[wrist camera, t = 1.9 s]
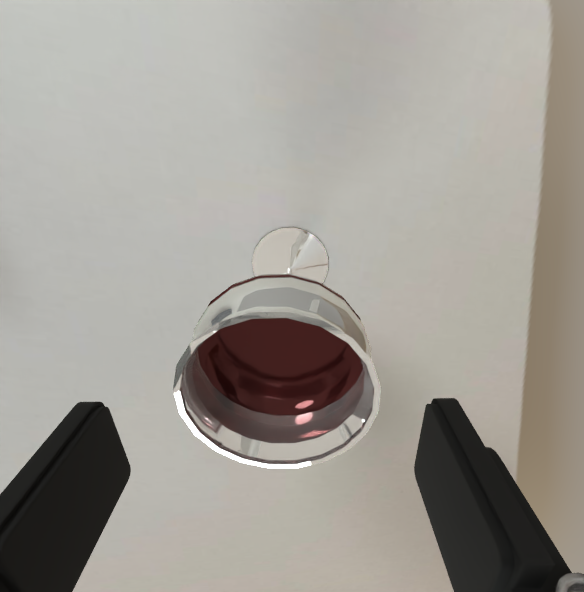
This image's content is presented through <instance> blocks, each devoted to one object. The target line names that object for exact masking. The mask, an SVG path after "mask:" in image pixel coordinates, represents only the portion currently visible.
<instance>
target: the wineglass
mask: <svg viewBox="0 0 584 592" xmlns="http://www.w3.org/2000/svg"><path fill="white" fill-rule="evenodd" d="M252 266H253V273H254V275H255V277H252V278H250V279H247V280H244V281H241V282H238V283H235V284H233V285H232V286H230V287H229V288H228V289H226V290H225V291H224V292H222V293H221V294H220V295H219V296H217V297H216V298H215V299H213V300H212V301H211V302H210V304H209V305H208V307H207V309H206V310H205V312H204V313H203V315H202V317H201V318H200V320H199V322H198V324H197V325H196V327H195V328H194V333H193V339H192V341H191V343H190V344H189V346H188V348H187V349H186V351H185V352H184V354H183V356H182V357H181V359H180V360H179V362H178V364H177V366H176V373H175V380H174V386H173V392H174V395H175V399H176V403H177V406H178V410H179V414H180V415H181V417H182V418H183V419H184V421H185V422H186V424H187V425H188V426H189V428H190V429H191V431H192V432H193V433H194V435H195V436H197V437H198V438H199V439H201V440H202V441H203V442H204V443H206V444H207V445H208V446H209V447H211V448H212V449H213V450H215V451H216V452H218V453H221V454H223V455H225V456H227V457H230V458H232V459H234V460H236V461H239V462H241V463H246V464H250V465H255V466H260V467H265V468H300V467H305V466H309V465H314V464H318V463H323V462H326V461H328V460H330V459H332V458H334V457H336V456H338V455H340V454H342V453H344V452H346V451H348V450H349V449H350V448H351V447H353V446H354V445H355V444H356V443H357V442H358V441H359V440H360V439H361V438H363V437H364V436H365V435H366V434H367V433H368V431H369V429H370V427H371V425H372V423H373V421H374V420H375V418H376V416H377V414H378V412H379V404H380V394H381V385H380V382H379V379H378V376H377V373H376V370H375V367H374V364H373V361H372V360H371V346H370V343H369V340H368V337H367V334H366V331H365V328H364V325H363V324H362V322H361V320H360V318H359V316H358V315H357V314H356V313H355V311H354V310H353V309H352V308H351V307H350V305H349V304H348V303H347V302H346V300H345V299H344V298H343V297H342V296H341V295H339V294H338V293H336V292H334V291H333V290H331V289H330V288H328V287H326V286H325V285H323V284H322V283H323V282H324V280H325V277H326V275H327V272H328V256H327V253H326V250H325V247H324V246H323V245H322V243H321V242H320V241H319V240H318V238H317V237H315V236H314V235H312V234H311V233H309V232H308V231H305V230H302V229H298V228H281V229H278V230H275V231H272V232H270V233H269V234H267V235H266V236H265V237H264V238H262V239H261V240H260V242H259V243H258V245H257V247H256V248H255V250H254V254H253V258H252Z"/></svg>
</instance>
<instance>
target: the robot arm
mask: <svg viewBox="0 0 584 592" xmlns="http://www.w3.org/2000/svg"><path fill="white" fill-rule="evenodd" d="M414 470H415V477H416V481H417V483H418V486H419V489H420V492H421V495H422V498H423V501H424V504H425V507H426V510H427V513H428V516H429V519H430V522H431V525H432V528H433V531H434V534H435V537H436V540H437V543H438V546H439V549H440V551H441V554H442V557H443V560H444V563H445V566H446V569H447V572H448V575H449V578H450V581H451V584H452V587H453V590H454V592H584V574H581V573H572V572H571V571H570V569H569V568H568V566H567V564H566V563H565V561H564V560H563V558H562V556H561V555H560V553H559V552H558V550H557V548H556V547H555V545H554V544H553V542H552V540H551V539H550V537H549V536H548V534H547V532H546V531H545V529H544V528H543V526H542V524H541V523H540V521H539V519H538V518H537V516H536V515H535V513H534V511H533V510H532V508H531V507H530V505H529V503H528V502H527V500H526V499H525V497H524V495H523V494H522V492H521V491H520V489H519V487H518V486H517V484H516V483H515V481H514V479H513V478H512V476H511V475H510V473H509V471H508V470H507V468H506V466H505V465H504V463H503V462H502V460H501V458H500V457H499V456H498V454H497V453H496V452H495V451H494V450H493V449H492V448H488V447H485V446H484V444H483V442H482V441H481V439H480V437H479V436H478V434H477V432H476V431H475V429H474V427H473V426H472V424H471V422H470V421H469V419H468V417H467V416H466V414H465V412H464V411H463V409H462V407H461V406H460V404H459V402H458V401H457V400H456V399H455V398H440V399H433V400H432V403H431V404H427V405H426V408H425V413H424V418H423V424H422V429H421V434H420V439H419V445H418V450H417V455H416V460H415V467H414ZM130 471H131V468H130V464H129V462H128V459H127V456H126V453H125V451H124V448H123V445H122V443H121V440H120V437H119V435H118V432H117V429H116V427H115V424H114V421H113V418H112V416H111V413H110V410H109V408H108V407H105V406H104V404H103V403H102V402H80V403H77V404H76V405H75V406H74V407H73V409H72V410H71V411H70V412H69V413H68V415H67V416H66V417H65V418H64V419H63V421H62V422H61V423H60V424H59V425H58V427H57V428H56V429H55V430H54V431H53V432H52V434H51V435H50V436H49V437H48V438H47V440H46V441H45V442H44V443H43V444H42V446H41V447H40V448H39V449H38V450H37V452H36V453H35V454H34V455H33V456H32V457H31V459H30V460H29V461H28V462H27V463H26V465H25V466H24V467H23V468H22V469H21V471H20V472H19V473H18V474H17V475H16V477H15V478H14V479H13V480H12V481H11V482H10V484H9V485H8V486H7V487H6V488H5V490H4V491H3V492H2V493H1V494H0V592H72V591H73V589H74V587H75V585H76V583H77V581H78V579H79V577H80V575H81V573H82V571H83V569H84V567H85V565H86V563H87V561H88V559H89V557H90V555H91V553H92V551H93V549H94V547H95V545H96V543H97V541H98V539H99V537H100V535H101V533H102V531H103V529H104V527H105V525H106V523H107V521H108V519H109V517H110V515H111V513H112V511H113V509H114V507H115V505H116V503H117V501H118V499H119V497H120V495H121V493H122V492H123V490H124V488H125V486H126V484H127V482H128V479H129V476H130Z"/></svg>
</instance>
